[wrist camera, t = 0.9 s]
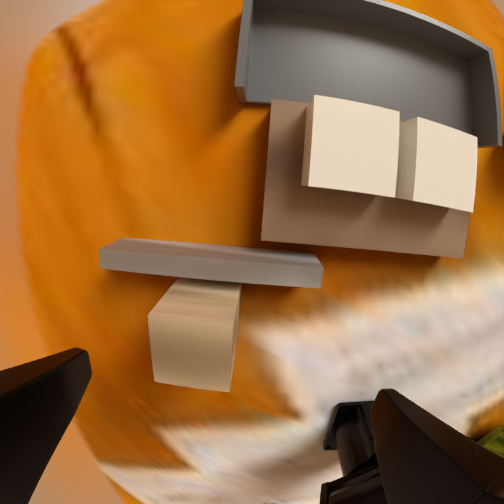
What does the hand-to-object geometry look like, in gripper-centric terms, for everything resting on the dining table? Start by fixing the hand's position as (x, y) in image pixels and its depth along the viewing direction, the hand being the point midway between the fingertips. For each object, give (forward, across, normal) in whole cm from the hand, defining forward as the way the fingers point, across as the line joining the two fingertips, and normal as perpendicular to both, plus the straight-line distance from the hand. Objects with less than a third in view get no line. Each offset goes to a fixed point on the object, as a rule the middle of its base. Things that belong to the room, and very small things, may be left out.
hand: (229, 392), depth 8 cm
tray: (+12, -7, -15) cm, 21 cm away
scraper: (+12, +2, +3) cm, 13 cm away
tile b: (+10, -4, -8) cm, 14 cm away
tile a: (+10, -10, -8) cm, 16 cm away
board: (+12, -7, -7) cm, 16 cm away
